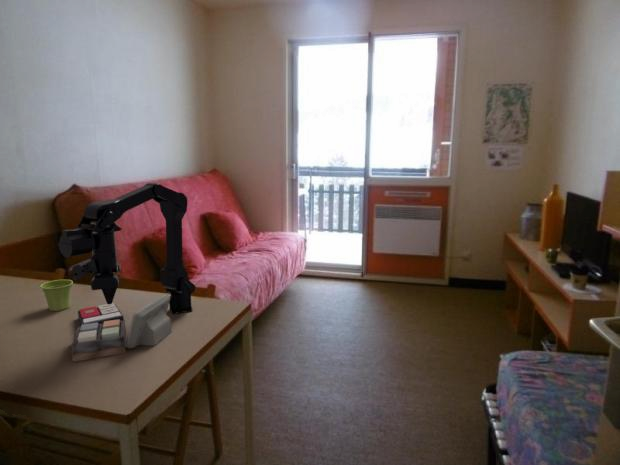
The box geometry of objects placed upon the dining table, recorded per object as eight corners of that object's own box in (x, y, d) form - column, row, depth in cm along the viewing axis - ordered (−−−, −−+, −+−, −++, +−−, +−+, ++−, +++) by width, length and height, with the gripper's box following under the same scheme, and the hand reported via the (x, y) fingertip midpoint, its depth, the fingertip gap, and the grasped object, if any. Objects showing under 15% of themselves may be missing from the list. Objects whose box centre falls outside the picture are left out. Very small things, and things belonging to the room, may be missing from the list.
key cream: (97, 337, 109) (96, 330, 108) (95, 343, 105) (95, 336, 105) (80, 340, 107) (79, 332, 107) (78, 346, 104) (77, 338, 103)
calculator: (114, 301, 134) (123, 313, 122) (116, 313, 135) (124, 327, 123) (77, 308, 128) (82, 322, 116) (78, 321, 129) (83, 336, 116)
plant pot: (78, 301, 143) (75, 278, 142) (72, 311, 134) (69, 286, 133) (48, 304, 140) (45, 280, 139) (39, 314, 132) (36, 289, 130)
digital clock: (159, 324, 124) (156, 291, 122) (182, 329, 121) (180, 295, 119) (116, 347, 109) (112, 310, 107) (142, 353, 106) (138, 315, 104)
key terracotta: (120, 326, 116) (119, 319, 115) (119, 331, 112) (119, 324, 112) (104, 328, 114) (103, 321, 114) (103, 334, 111) (102, 326, 110)
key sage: (119, 334, 111) (118, 326, 110) (119, 340, 107) (118, 332, 107) (103, 336, 109) (102, 329, 109) (102, 342, 106) (101, 335, 105)
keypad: (125, 331, 119) (124, 318, 118) (125, 352, 106) (123, 338, 106) (79, 338, 114) (78, 325, 113) (72, 361, 102) (71, 347, 101)
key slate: (98, 329, 114) (97, 322, 113) (97, 335, 110) (96, 327, 110) (82, 332, 112) (81, 324, 112) (81, 337, 109) (80, 330, 108)
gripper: (74, 244, 114) (80, 297, 117) (64, 260, 97) (71, 321, 100) (117, 241, 118) (122, 292, 121) (115, 256, 102) (121, 314, 105)
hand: (109, 303), depth 112 cm, fingers closed
